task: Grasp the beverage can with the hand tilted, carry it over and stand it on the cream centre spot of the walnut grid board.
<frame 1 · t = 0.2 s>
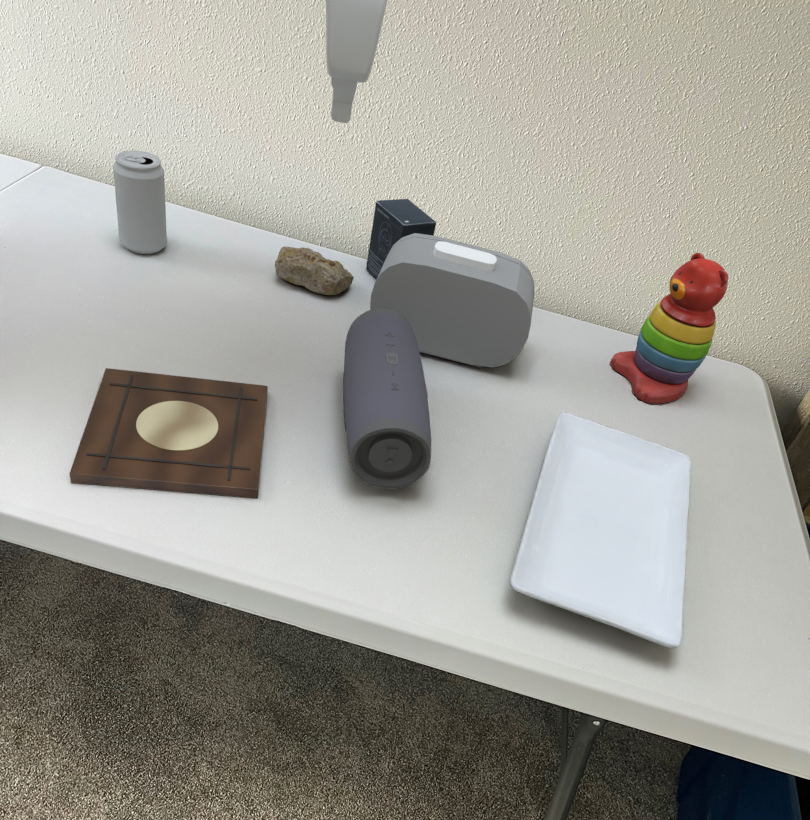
hand: (339, 103, 77), 30 cm above the table, tool pointing down, fingers open, 8 cm apart
grey rounded block: (443, 344, 107), on the table
board: (178, 434, 84), on the table
stacking bear: (651, 381, 110), on the table
rock: (312, 283, 112), on the table
beverage can: (143, 247, 111), on the table
bluetooth speaker: (377, 432, 91), on the table
tray: (600, 535, 85), on the table
box: (393, 281, 117), on the table
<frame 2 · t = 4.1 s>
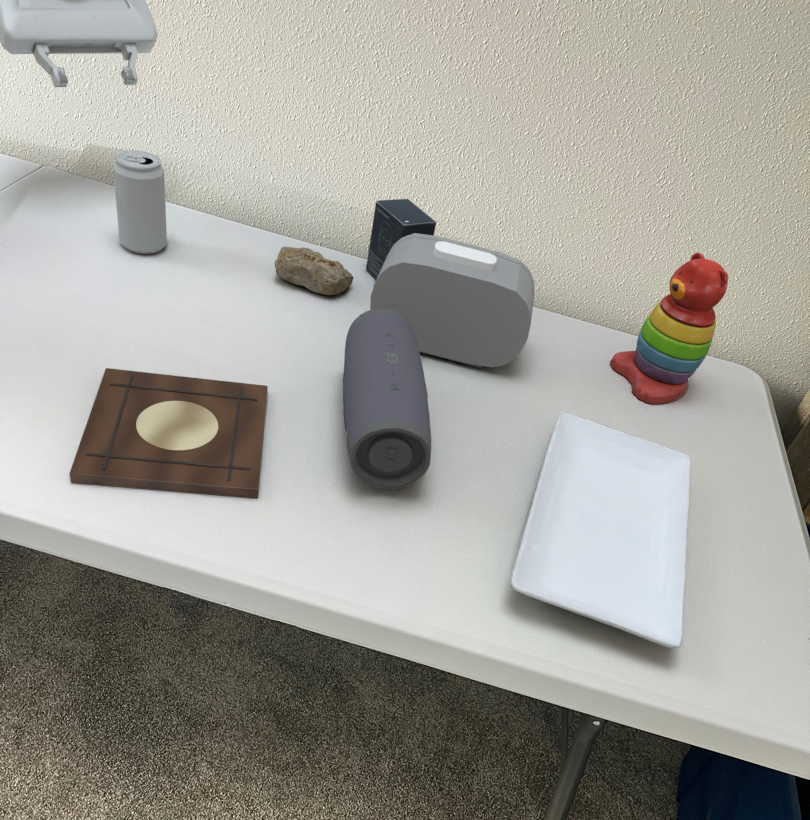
hand: (97, 84, 105), 17 cm above the table, tool tilted 45°, fingers open, 8 cm apart
nothing on the table moved.
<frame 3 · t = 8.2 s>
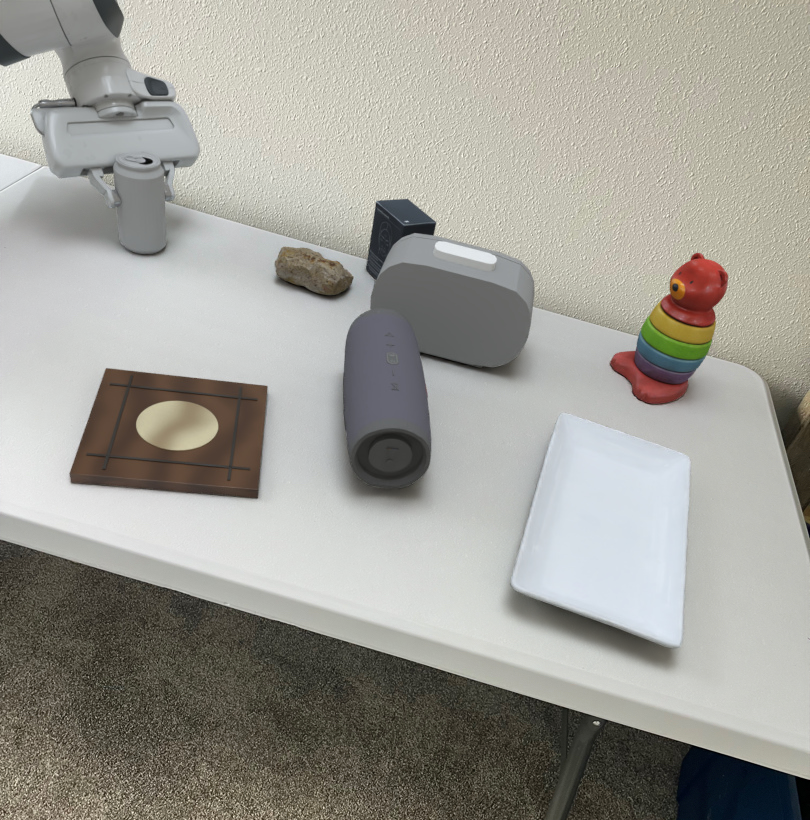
hand: (143, 202, 106), 6 cm above the table, tool tilted 45°, fingers closed on beverage can, 6 cm apart
beverage can: (143, 247, 111), on the table, touching gripper
everything else where it was.
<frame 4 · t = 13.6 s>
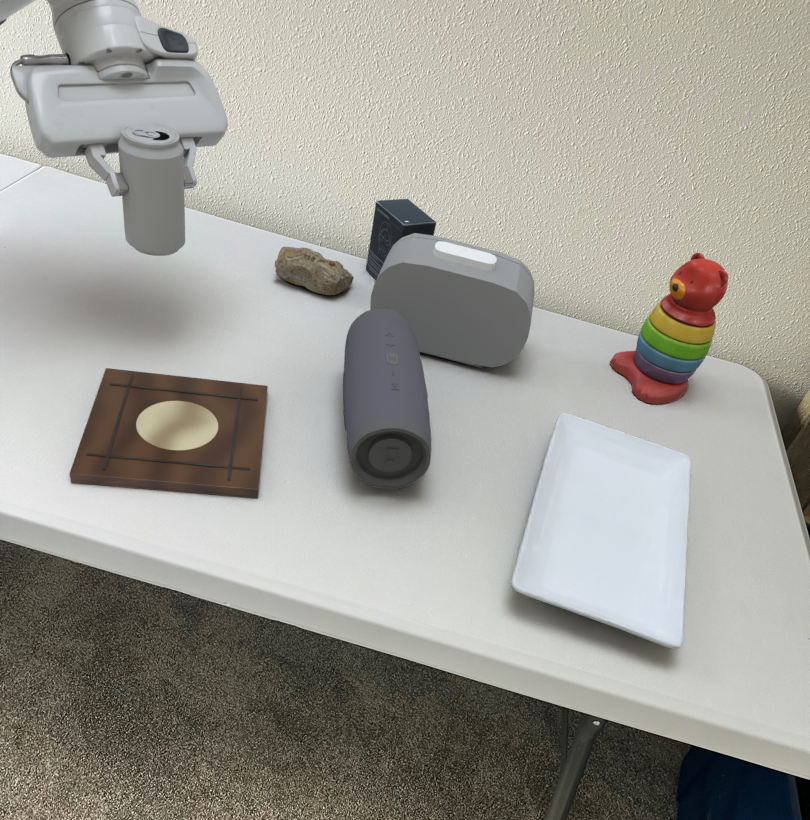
hand: (156, 190, 83), 18 cm above the table, tool tilted 45°, fingers closed on beverage can, 6 cm apart
beverage can: (155, 247, 88), point 12 cm above the table, touching gripper
everything else where it was.
when the fingers open (8 cm above the table, at t = 19.4 s): beverage can stays where it is, resting on board.
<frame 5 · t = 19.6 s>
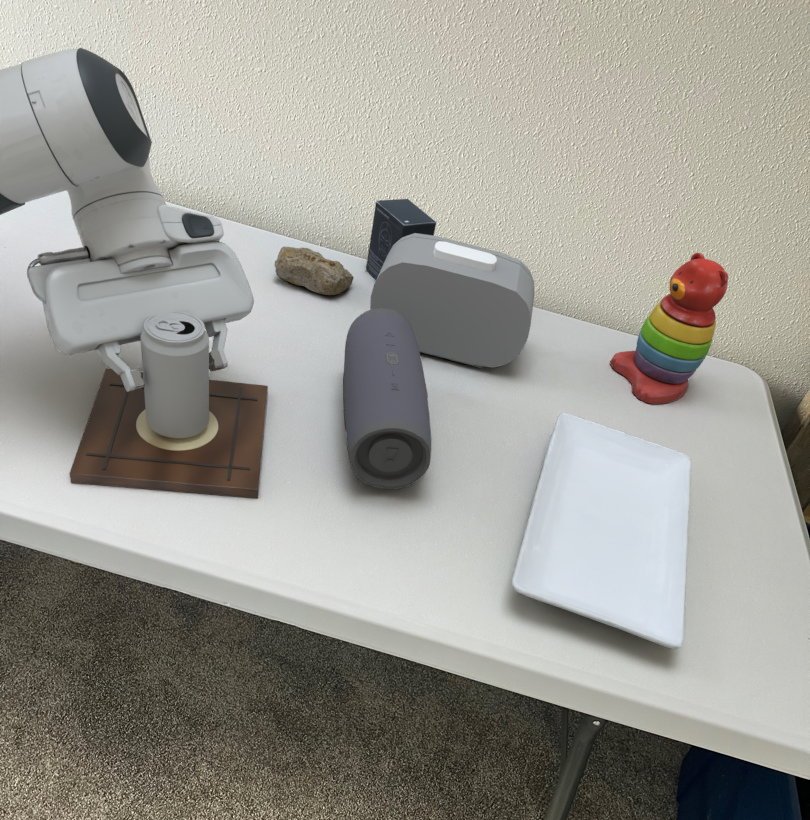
hand: (179, 379, 78), 8 cm above the table, tool tilted 45°, fingers open, 8 cm apart
beverage can: (177, 425, 83), point 1 cm above the table, touching board
everything else where it was.
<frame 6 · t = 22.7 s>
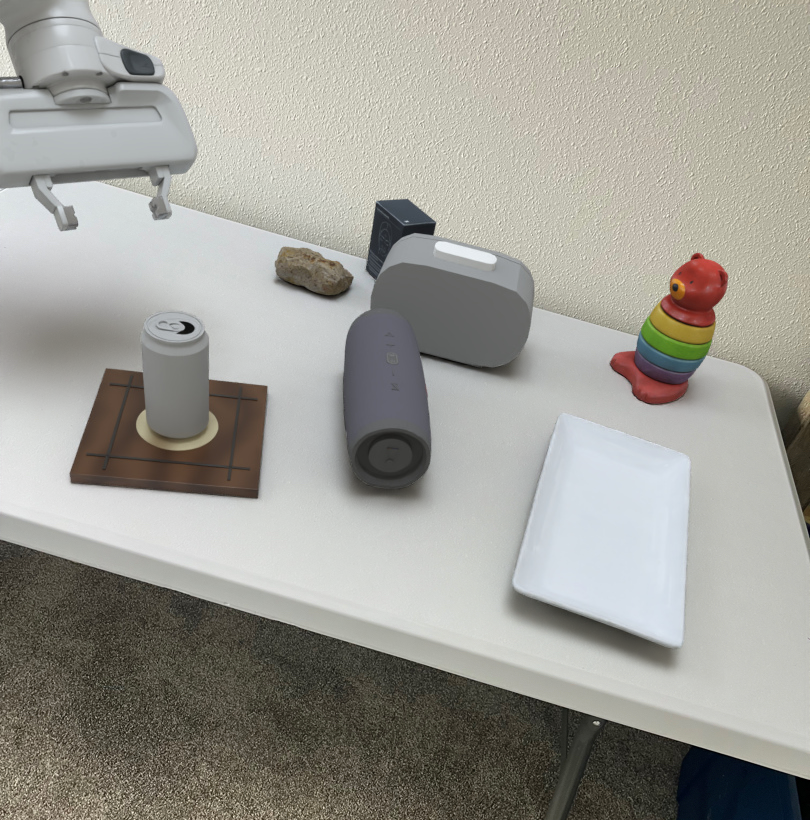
hand: (118, 223, 77), 18 cm above the table, tool tilted 45°, fingers open, 8 cm apart
nothing on the table moved.
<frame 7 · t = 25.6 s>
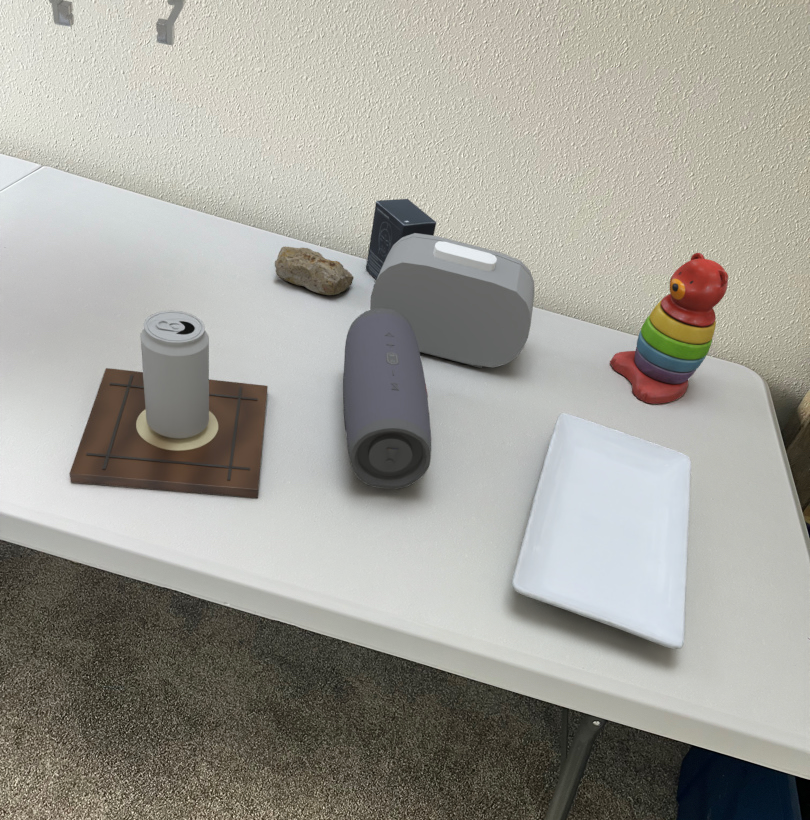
hand: (115, 33, 76), 31 cm above the table, tool pointing down, fingers open, 8 cm apart
nothing on the table moved.
at the end: beverage can inside the target area on the board (0.0 cm from its centre), point 1.1 cm above the board's base; beverage can tilted 0°; the gripper is holding nothing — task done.
